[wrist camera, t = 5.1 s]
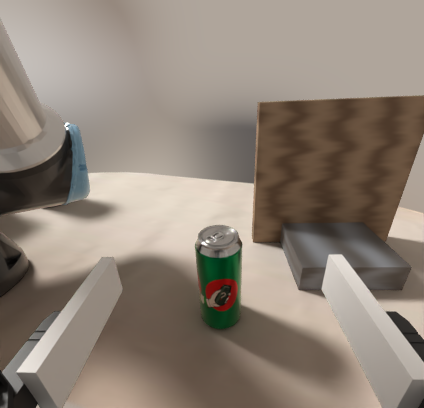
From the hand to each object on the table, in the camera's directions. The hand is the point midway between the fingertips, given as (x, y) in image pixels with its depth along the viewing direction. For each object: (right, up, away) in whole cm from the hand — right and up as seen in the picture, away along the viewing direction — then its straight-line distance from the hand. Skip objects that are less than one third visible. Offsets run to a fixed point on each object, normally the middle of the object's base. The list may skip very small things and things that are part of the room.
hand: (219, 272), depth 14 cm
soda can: (+1, -10, +15) cm, 18 cm away
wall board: (+19, -5, +24) cm, 31 cm away
